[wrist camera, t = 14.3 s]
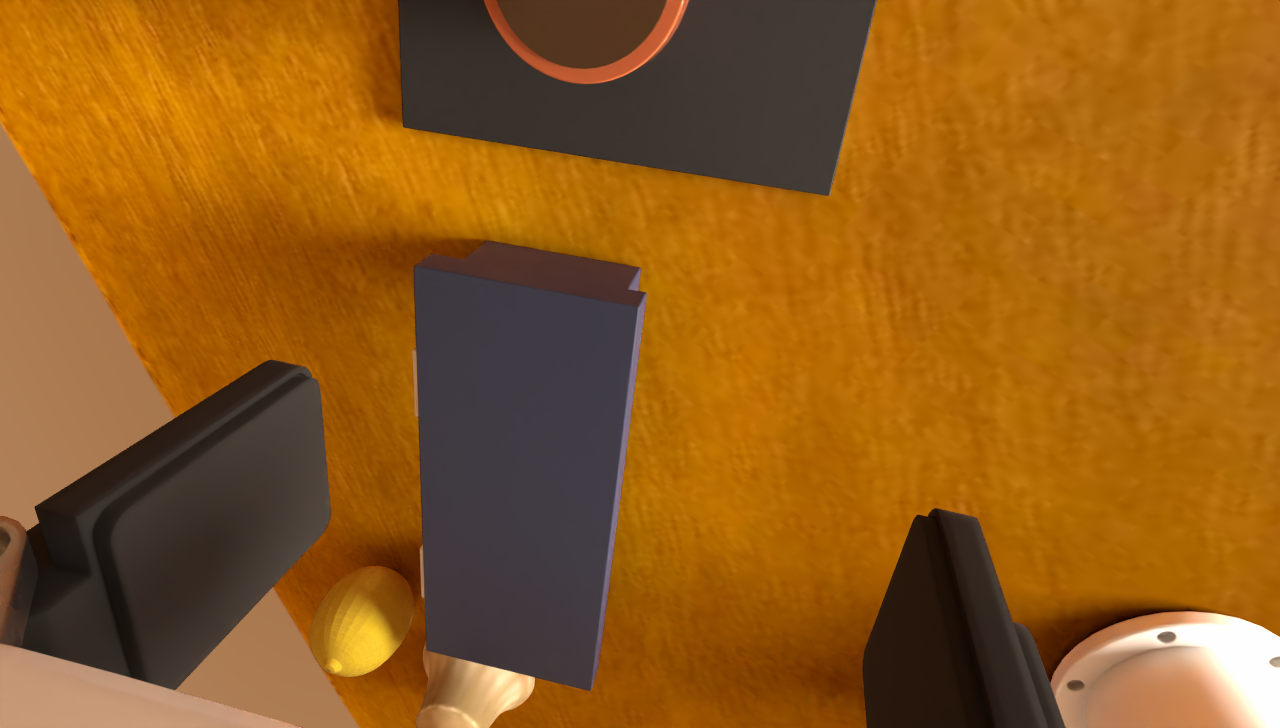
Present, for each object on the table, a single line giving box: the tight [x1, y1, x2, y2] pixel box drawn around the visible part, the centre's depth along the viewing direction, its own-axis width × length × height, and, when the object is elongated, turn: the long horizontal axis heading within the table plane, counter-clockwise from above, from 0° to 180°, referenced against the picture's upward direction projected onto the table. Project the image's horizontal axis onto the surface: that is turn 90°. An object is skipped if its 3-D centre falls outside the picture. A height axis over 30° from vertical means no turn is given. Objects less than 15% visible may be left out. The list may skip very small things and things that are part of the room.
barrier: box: [413, 241, 647, 691], centre depth 39 cm, size 10×24×6 cm, turn 173°
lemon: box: [310, 566, 415, 677], centre depth 45 cm, size 6×6×8 cm
